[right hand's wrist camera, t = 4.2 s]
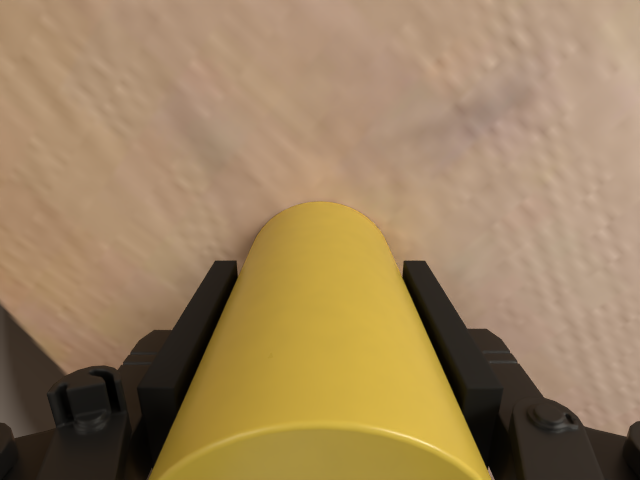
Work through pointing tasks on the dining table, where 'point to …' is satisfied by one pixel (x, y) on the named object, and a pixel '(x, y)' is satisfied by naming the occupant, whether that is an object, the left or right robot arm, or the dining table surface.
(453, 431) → the cylinder
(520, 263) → the dining table surface
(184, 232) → the dining table surface
